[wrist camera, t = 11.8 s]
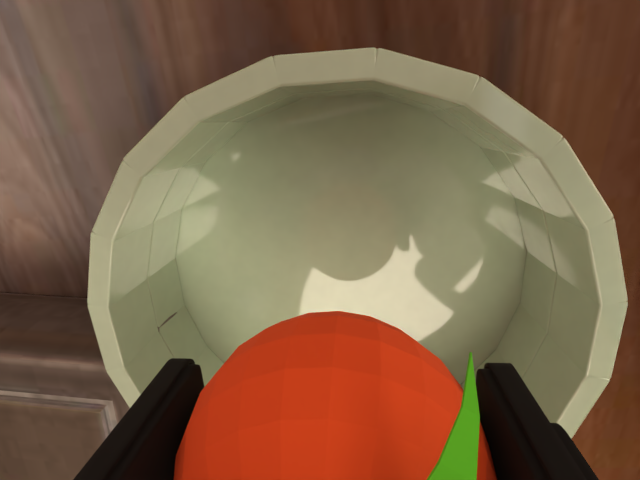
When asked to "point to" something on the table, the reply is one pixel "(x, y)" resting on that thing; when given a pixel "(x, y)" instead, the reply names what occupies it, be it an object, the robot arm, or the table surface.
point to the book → (52, 388)
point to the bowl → (360, 226)
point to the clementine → (335, 409)
